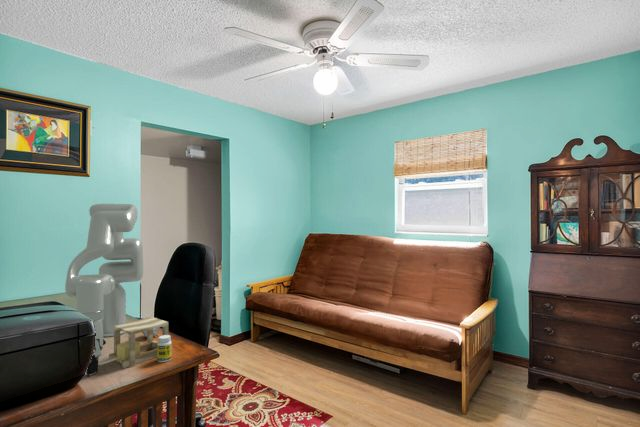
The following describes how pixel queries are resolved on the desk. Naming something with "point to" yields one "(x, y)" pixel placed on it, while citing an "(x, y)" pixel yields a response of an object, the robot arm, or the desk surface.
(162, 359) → the supplement bottle
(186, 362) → the desk surface
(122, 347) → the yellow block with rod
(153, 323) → the birch shelf
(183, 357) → the desk surface
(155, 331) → the game die
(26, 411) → the desk surface
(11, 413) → the desk surface
